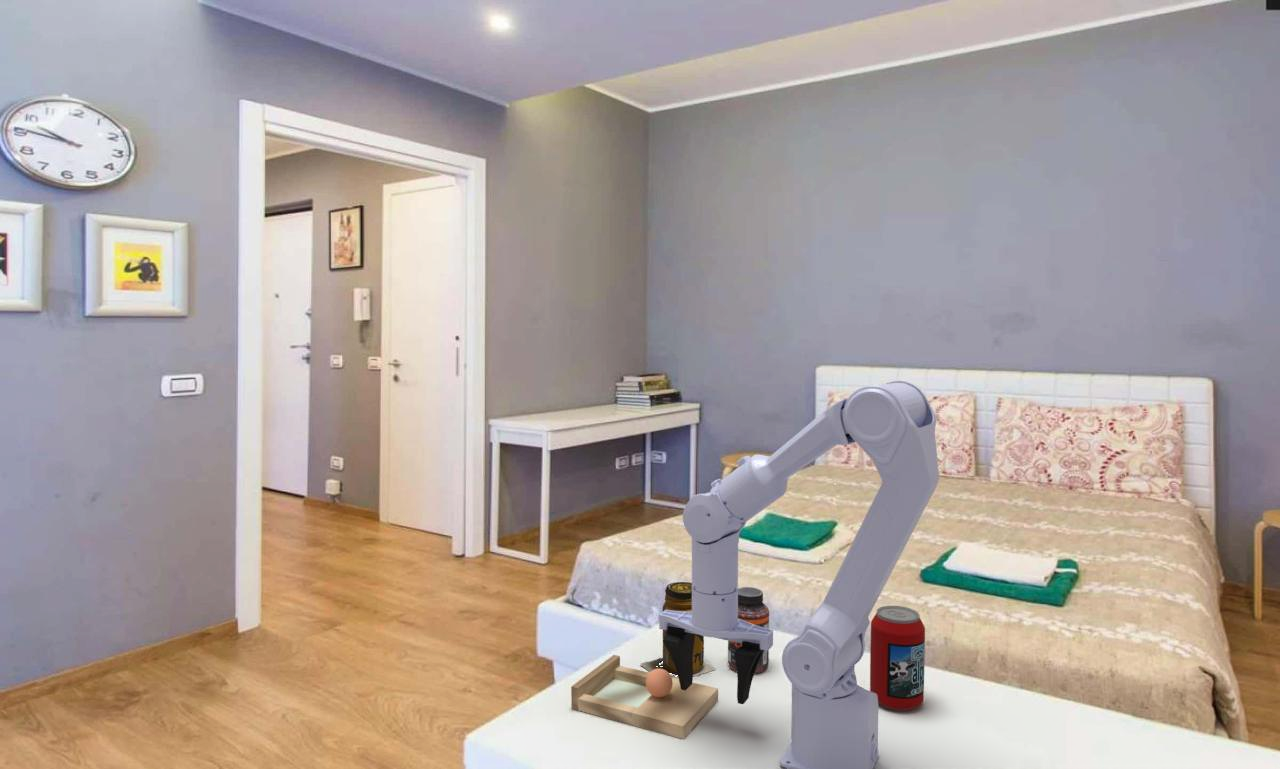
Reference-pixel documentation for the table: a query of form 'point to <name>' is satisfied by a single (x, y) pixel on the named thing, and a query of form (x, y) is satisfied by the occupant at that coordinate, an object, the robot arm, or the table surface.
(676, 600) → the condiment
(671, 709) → the board
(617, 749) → the table surface
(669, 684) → the ball
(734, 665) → the supplement bottle
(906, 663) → the beverage can
